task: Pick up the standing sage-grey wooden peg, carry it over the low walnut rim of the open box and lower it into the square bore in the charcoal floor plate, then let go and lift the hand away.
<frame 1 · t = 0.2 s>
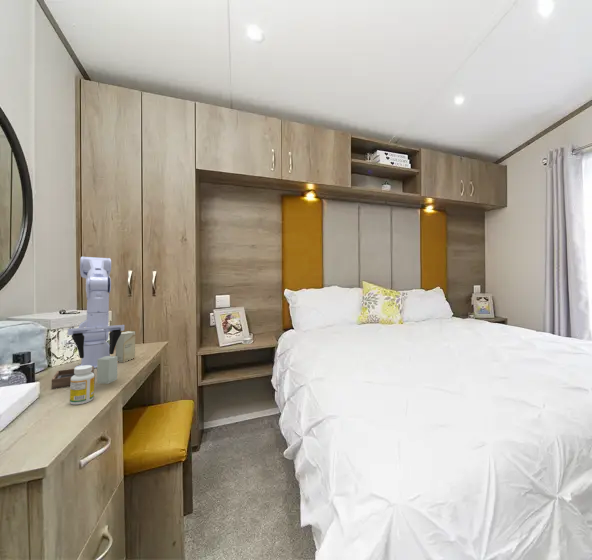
hand: (97, 355, 83), 10 cm above the table, tool pointing down, fingers open, 7 cm apart
sage peg: (107, 381, 90), on the table
supplement bottle: (82, 401, 75), on the table
skincare box: (125, 360, 114), on the table
bore box: (74, 381, 89), on the table
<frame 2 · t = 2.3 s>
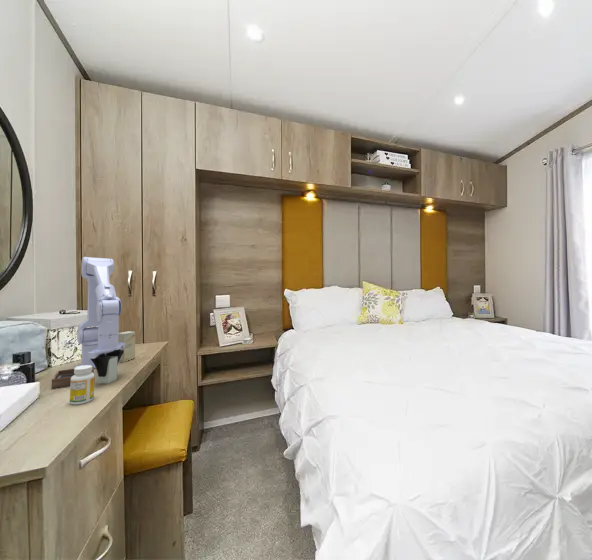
hand: (107, 374, 90), 2 cm above the table, tool pointing down, fingers closed on sage peg, 4 cm apart
sage peg: (107, 381, 90), on the table, touching gripper
everything else where it was.
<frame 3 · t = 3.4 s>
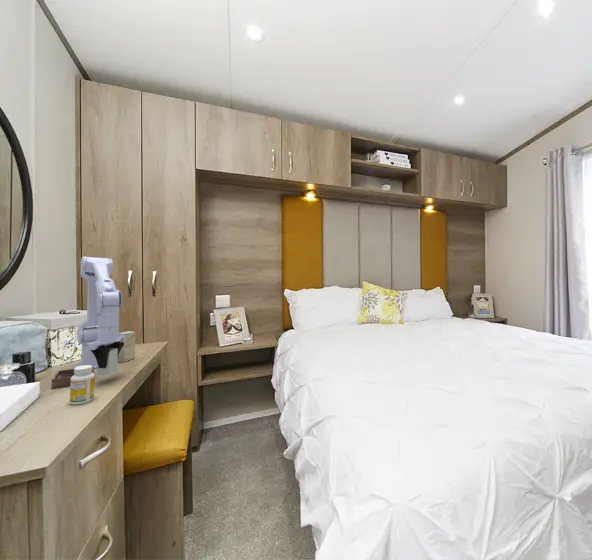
hand: (107, 365, 90), 5 cm above the table, tool pointing down, fingers closed on sage peg, 4 cm apart
sage peg: (107, 372, 90), point 3 cm above the table, touching gripper
everything else where it was.
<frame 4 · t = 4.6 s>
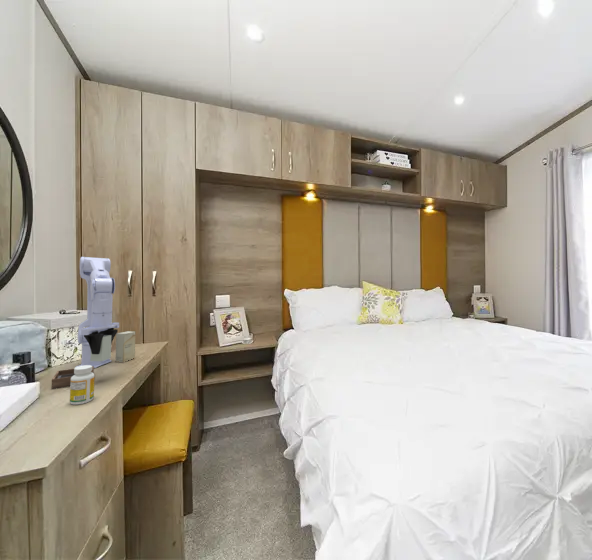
hand: (100, 352, 90), 10 cm above the table, tool pointing down, fingers closed on sage peg, 4 cm apart
sage peg: (100, 359, 90), point 7 cm above the table, touching gripper
everything else where it was.
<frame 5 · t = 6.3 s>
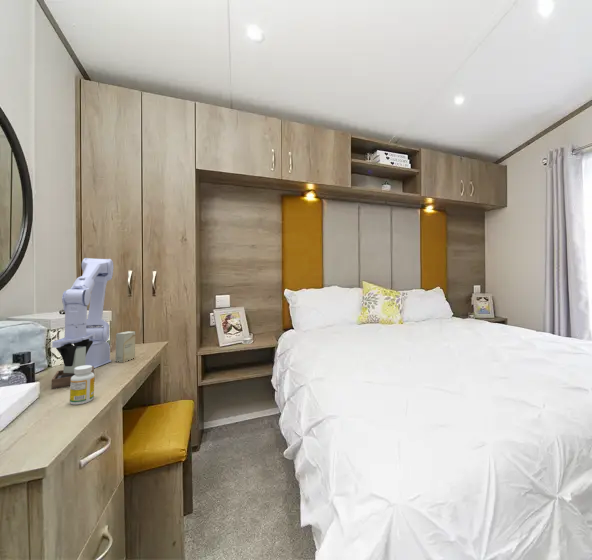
hand: (74, 364, 89), 6 cm above the table, tool pointing down, fingers closed on sage peg, 4 cm apart
sage peg: (74, 371, 89), point 3 cm above the table, touching gripper
everything else where it was.
when the fingers open (3 cm above the table, at t = 7.3 s): sage peg stays where it is, resting in bore box.
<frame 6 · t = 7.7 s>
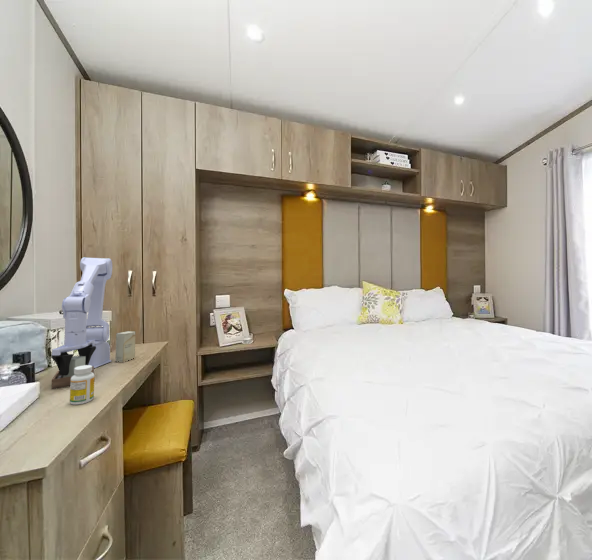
hand: (74, 371, 89), 3 cm above the table, tool pointing down, fingers open, 7 cm apart
sage peg: (74, 381, 89), resting in bore box
everything else where it was.
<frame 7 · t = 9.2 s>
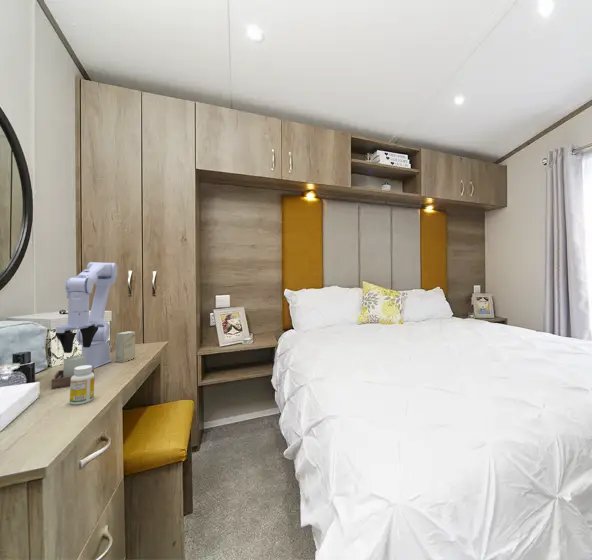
hand: (77, 349, 93), 10 cm above the table, tool pointing down, fingers open, 7 cm apart
nothing on the table moved.
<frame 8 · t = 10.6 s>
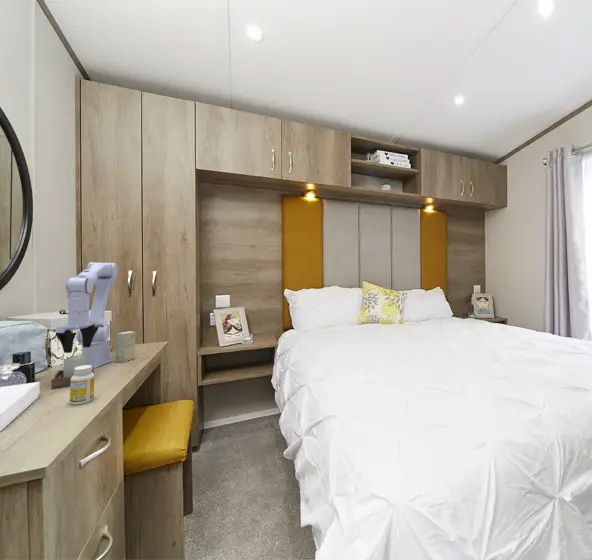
hand: (77, 349, 93), 10 cm above the table, tool pointing down, fingers open, 7 cm apart
nothing on the table moved.
at the end: sage peg 0.0 cm off-centre on the bore box, point 0.0 cm above the bore box's base; sage peg tilted 0°; the gripper is holding nothing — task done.
